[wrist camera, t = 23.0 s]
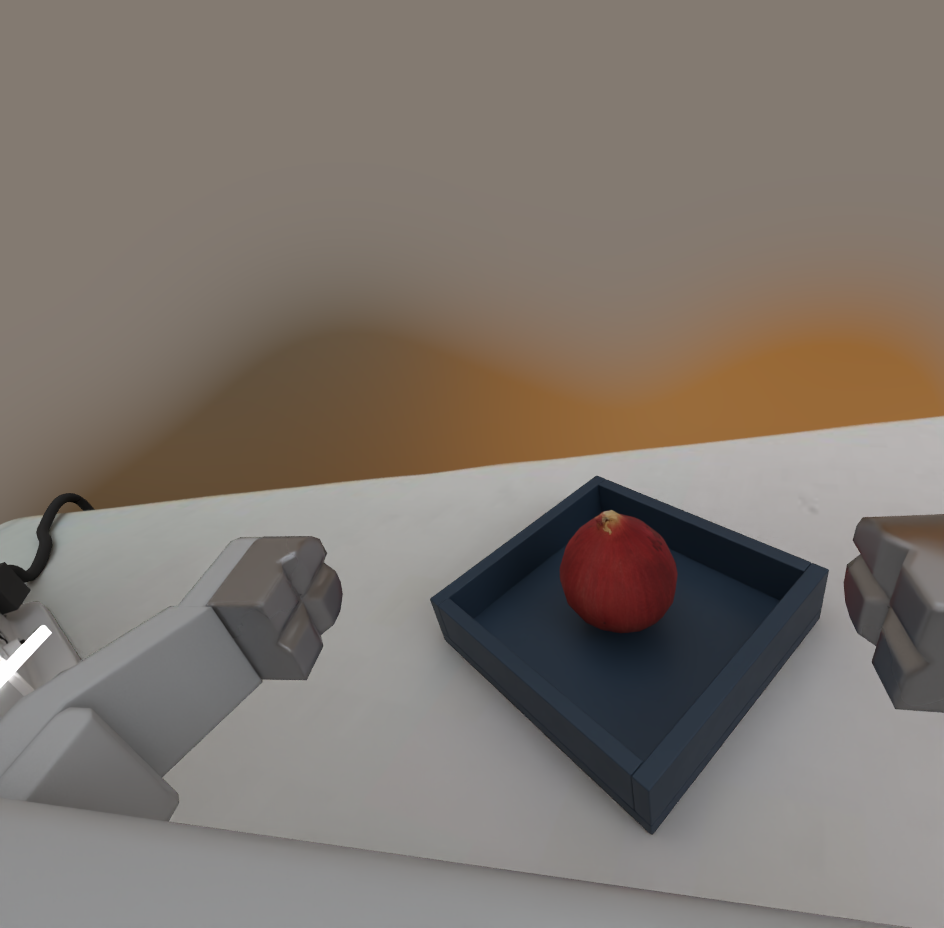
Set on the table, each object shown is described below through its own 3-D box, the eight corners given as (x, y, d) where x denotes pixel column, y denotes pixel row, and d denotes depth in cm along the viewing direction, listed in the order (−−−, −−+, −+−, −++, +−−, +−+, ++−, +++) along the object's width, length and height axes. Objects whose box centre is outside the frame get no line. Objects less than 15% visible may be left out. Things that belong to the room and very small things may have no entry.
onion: (602, 570, 33) (590, 464, 29) (695, 607, 29) (696, 491, 25) (549, 636, 30) (527, 527, 25) (646, 686, 26) (639, 569, 22)
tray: (444, 639, 32) (429, 598, 30) (601, 515, 38) (596, 475, 37) (652, 835, 21) (648, 791, 20) (819, 618, 28) (829, 569, 26)
